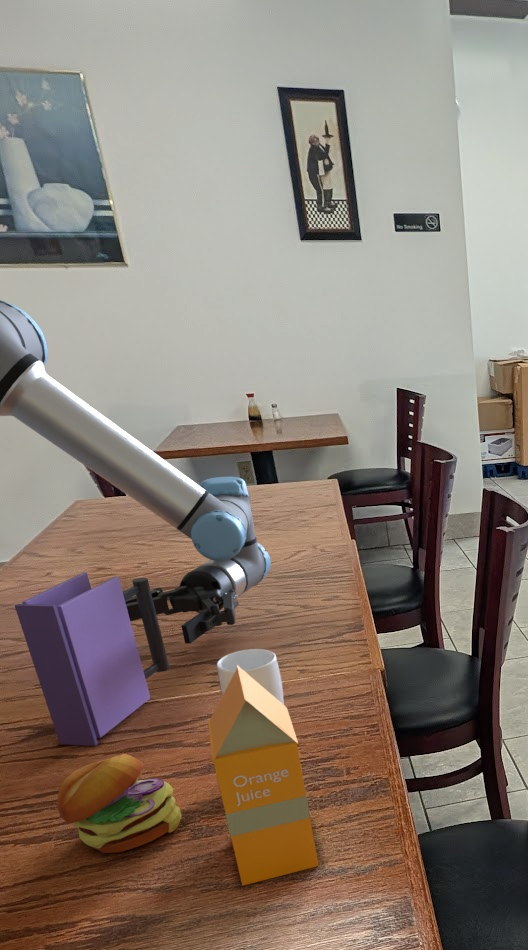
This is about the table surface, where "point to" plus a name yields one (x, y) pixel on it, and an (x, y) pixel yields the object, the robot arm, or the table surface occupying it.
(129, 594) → the folder cover
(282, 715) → the orange juice
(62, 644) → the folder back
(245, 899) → the table surface
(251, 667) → the drinking glass
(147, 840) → the cheeseburger
